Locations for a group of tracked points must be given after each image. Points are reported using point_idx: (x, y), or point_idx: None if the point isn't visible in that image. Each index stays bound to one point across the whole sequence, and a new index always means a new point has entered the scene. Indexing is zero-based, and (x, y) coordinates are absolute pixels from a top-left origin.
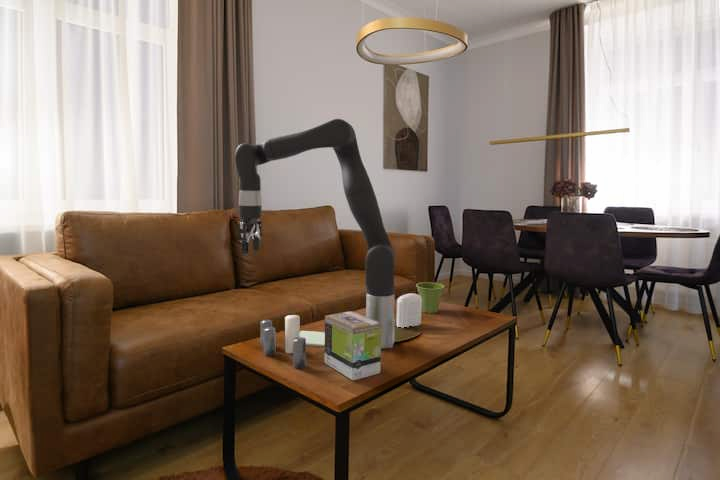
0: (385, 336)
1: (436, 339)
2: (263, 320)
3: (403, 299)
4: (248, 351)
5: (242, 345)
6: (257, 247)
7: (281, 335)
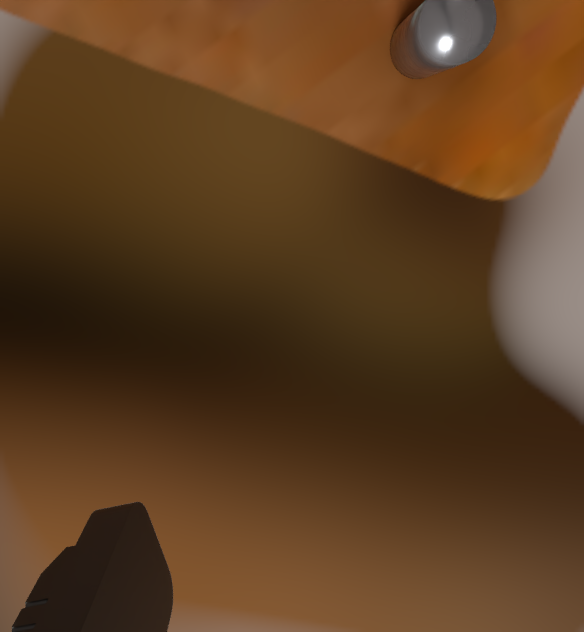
0: None
1: None
2: (446, 54)
3: None
4: (527, 79)
5: (464, 163)
6: (132, 553)
7: (253, 64)
